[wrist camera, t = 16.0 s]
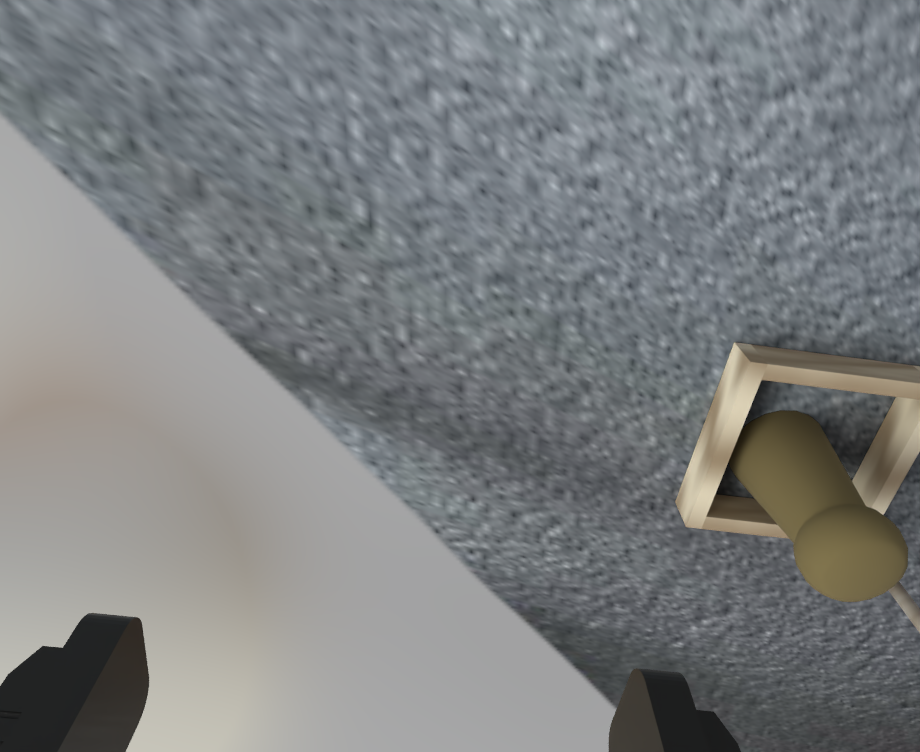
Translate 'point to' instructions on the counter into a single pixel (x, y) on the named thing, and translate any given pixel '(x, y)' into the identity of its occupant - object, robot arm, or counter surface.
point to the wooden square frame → (902, 432)
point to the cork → (818, 507)
